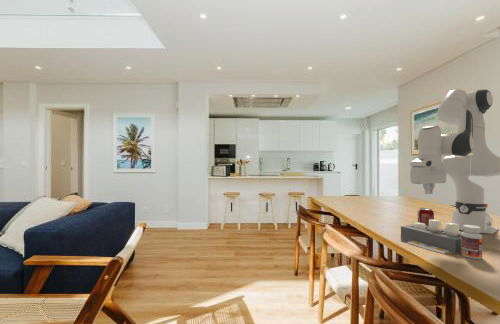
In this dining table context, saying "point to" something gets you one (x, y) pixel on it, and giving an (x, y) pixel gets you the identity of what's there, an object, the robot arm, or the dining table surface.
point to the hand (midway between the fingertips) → (428, 193)
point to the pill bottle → (471, 242)
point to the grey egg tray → (432, 238)
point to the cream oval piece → (419, 225)
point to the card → (428, 247)
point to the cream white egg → (435, 226)
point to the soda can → (425, 215)
